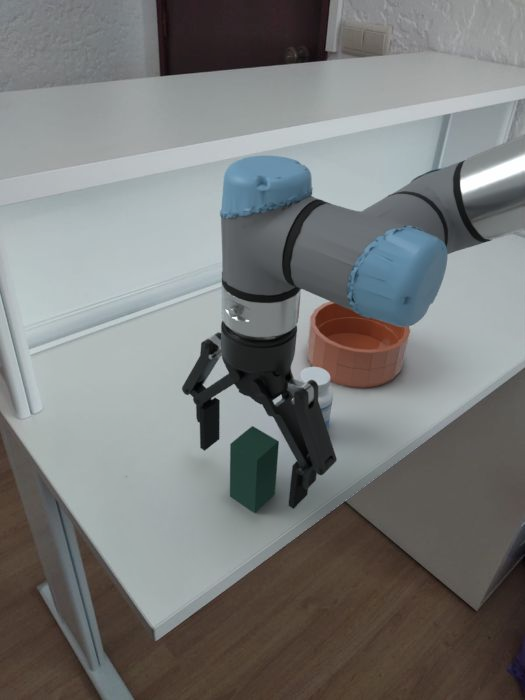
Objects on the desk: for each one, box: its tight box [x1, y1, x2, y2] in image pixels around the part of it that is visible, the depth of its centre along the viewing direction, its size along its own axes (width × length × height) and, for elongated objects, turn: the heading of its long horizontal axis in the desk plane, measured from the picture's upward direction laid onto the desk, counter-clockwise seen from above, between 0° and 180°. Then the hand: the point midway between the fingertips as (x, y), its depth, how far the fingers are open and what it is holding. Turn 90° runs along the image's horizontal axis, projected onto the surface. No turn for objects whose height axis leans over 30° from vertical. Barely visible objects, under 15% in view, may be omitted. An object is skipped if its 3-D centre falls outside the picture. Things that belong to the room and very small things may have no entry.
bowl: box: [306, 301, 411, 389], centre depth 94 cm, size 16×16×7 cm
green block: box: [229, 425, 280, 514], centre depth 69 cm, size 4×4×9 cm
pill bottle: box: [298, 366, 334, 431], centre depth 78 cm, size 6×5×10 cm
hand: (251, 470), depth 69 cm, fingers open, 13 cm apart
